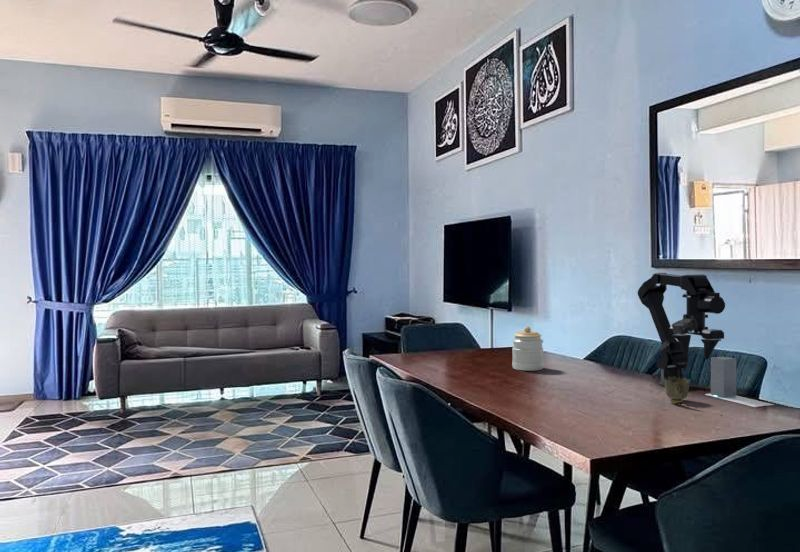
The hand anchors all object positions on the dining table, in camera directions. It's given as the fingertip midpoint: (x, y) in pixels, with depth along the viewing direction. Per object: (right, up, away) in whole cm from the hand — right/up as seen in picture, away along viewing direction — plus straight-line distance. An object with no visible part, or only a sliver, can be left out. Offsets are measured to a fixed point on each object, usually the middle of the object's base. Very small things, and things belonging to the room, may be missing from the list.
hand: (695, 357), depth 209 cm
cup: (-13, -13, -16) cm, 24 cm away
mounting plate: (+6, -12, -14) cm, 20 cm away
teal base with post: (+5, -12, -9) cm, 16 cm away
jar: (-46, -12, +51) cm, 70 cm away
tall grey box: (+5, -11, -9) cm, 15 cm away
